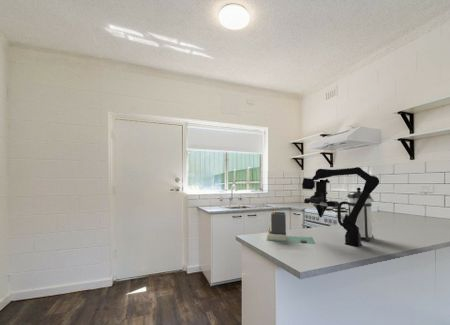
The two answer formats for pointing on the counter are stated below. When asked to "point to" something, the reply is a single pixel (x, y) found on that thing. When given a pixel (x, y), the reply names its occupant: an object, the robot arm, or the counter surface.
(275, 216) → the grey tall block
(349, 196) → the coffee press
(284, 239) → the board
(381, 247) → the counter surface
